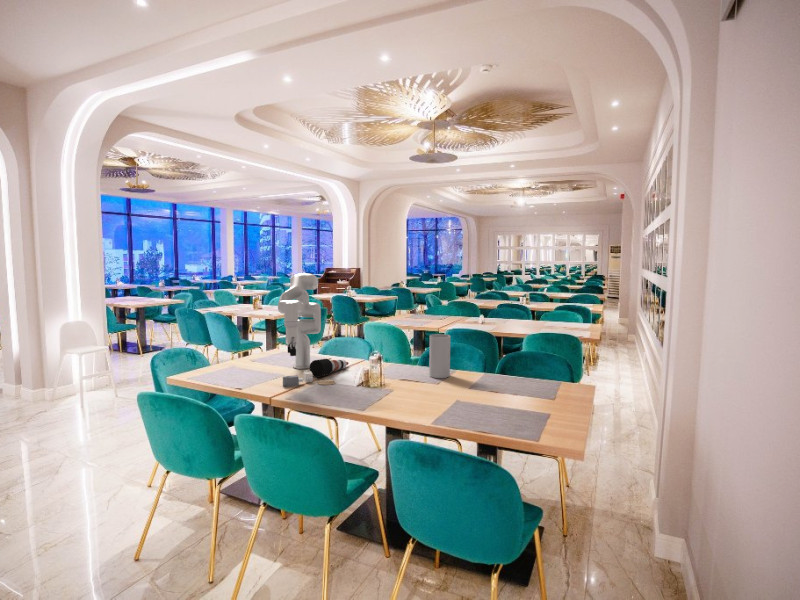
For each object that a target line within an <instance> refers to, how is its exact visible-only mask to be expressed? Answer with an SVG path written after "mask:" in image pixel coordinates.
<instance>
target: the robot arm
mask: <svg viewBox="0 0 800 600" xmlns="http://www.w3.org/2000/svg"><path fill="white" fill-rule="evenodd" d="M289 281H290V285H289V288H288V289H286V290H285V291H284V292H283V293H282V294H281V295H280V296H279V300H278V304H277V311H278V312H279V313H280V314H284V322H283V323H284V327H285V344H287V353H288V354H289V356H290V357H295V358H294V360H295V364H293V365H292V368H293V369H297V370H303V369H304V370H305V369H307V370H308V369H310V368H309V367H310V364H311V340H310V338H309V336H308V335H311V334H312V335H315V334H319V333H320V332H321V330H322V319H321V318H322V315H321V314H322V310H321V309H322V308H321V305H320V304H319V303H318V302H310V295H309V292H308V291H307V290H309V291H310V290H314V291H315V290H316V289H318V286H319V281H318V277H317V276H316V275H315V274H313V273H296V274H294V275H293V276H292V277H291V278H290V280H289ZM304 318H305V319H304ZM309 318H310V319H309ZM312 318H313V319H312Z"/></svg>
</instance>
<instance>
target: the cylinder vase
mask: <svg viewBox="0 0 800 600" xmlns="http://www.w3.org/2000/svg"><path fill="white" fill-rule="evenodd" d="M428 357H429V359H428V360H429V365H428V368H429V369H428V371H429V372H428V374H429V377H430V376H431V377H430V378H433V379H447V377H448V378H450V375H451V372H450V371H451V335H449V334H445V333H444V334H442V333H434V334H430V335H429V355H428Z"/></svg>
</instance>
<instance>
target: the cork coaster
mask: <svg viewBox="0 0 800 600" xmlns="http://www.w3.org/2000/svg"><path fill="white" fill-rule="evenodd" d="M335 383H336V380H334V379H320V380H318V381H317V385H319V386H330V385H332V386H333V385H334V384H335Z"/></svg>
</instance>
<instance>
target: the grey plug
mask: <svg viewBox="0 0 800 600" xmlns="http://www.w3.org/2000/svg"><path fill="white" fill-rule="evenodd" d="M302 382H304V377H299V375H297V374H293V375H284V376H282V387H286V388H287V387H288V388H289V387H297V386H300V385H299V383H302Z"/></svg>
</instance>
